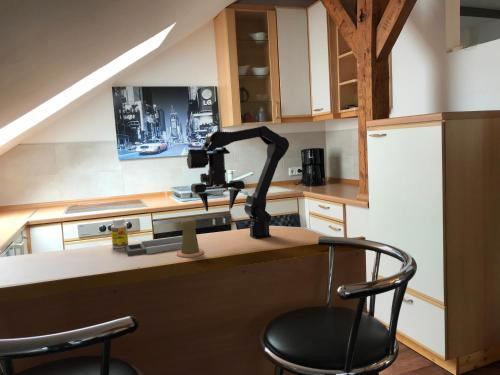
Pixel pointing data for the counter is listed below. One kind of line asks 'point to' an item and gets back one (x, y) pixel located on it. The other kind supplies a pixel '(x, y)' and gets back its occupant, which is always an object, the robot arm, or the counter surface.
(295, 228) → the counter surface
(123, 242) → the supplement bottle
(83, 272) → the counter surface
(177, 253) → the coaster
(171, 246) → the guide channel
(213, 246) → the counter surface
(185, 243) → the cork
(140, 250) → the trap box
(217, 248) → the counter surface
